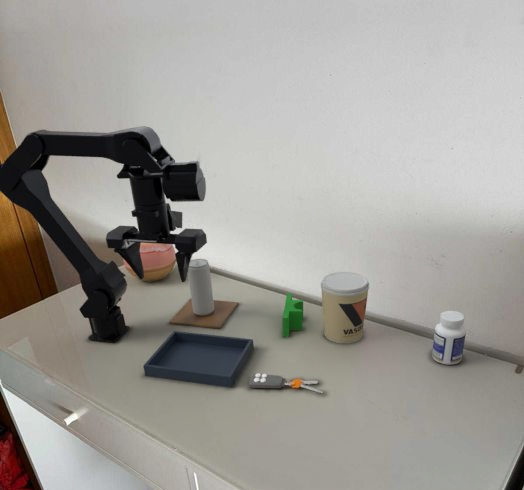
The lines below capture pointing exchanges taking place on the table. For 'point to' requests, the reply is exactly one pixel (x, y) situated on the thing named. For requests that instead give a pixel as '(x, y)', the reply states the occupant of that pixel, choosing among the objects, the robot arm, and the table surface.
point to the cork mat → (211, 321)
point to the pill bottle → (449, 338)
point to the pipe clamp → (292, 315)
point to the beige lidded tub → (344, 306)
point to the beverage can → (200, 287)
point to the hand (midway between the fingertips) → (162, 280)
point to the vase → (155, 261)
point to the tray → (200, 358)
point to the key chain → (278, 382)
